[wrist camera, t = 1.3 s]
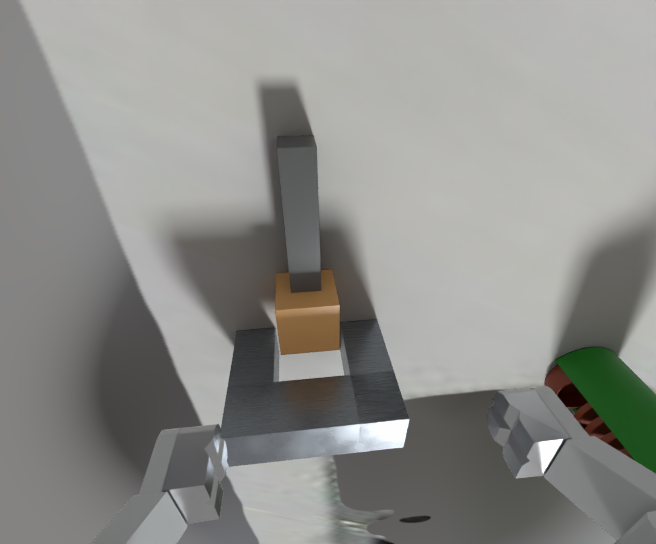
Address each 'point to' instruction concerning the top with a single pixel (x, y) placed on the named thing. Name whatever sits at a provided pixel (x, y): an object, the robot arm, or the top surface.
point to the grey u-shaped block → (311, 401)
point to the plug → (303, 257)
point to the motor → (608, 401)
